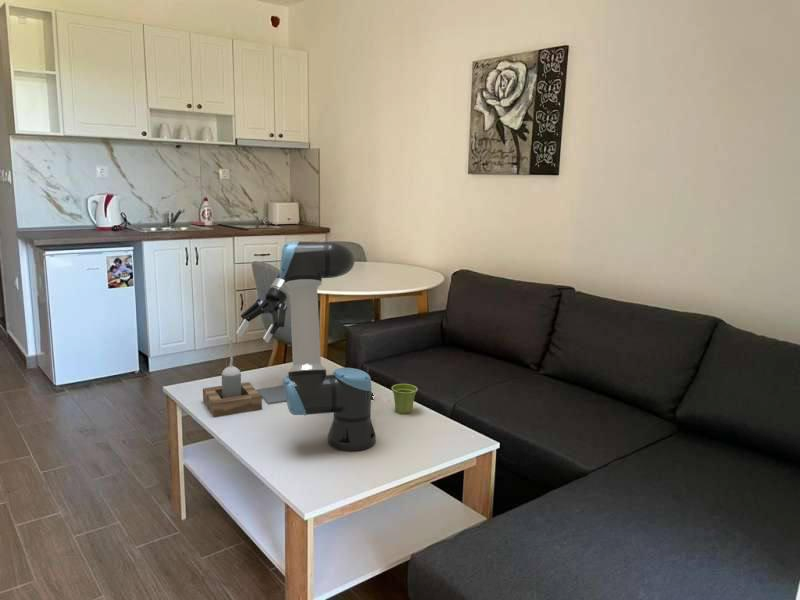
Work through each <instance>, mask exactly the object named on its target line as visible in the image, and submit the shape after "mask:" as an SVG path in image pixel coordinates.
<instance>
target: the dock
mask: <svg viewBox="0 0 800 600" xmlns="http://www.w3.org/2000/svg"><path fill="white" fill-rule="evenodd" d="M256 389H257V388H255V387H254V386H253V385H252V384H251V382H249V381H246V382H241V395H242V396H236V397H229V398H222V399H221V397H222V385H217V386H208V387H202V401H204V402H203V403H204V405H205V404H206V405H205V407H206V408H207V407H208V408H207V409H208V411H209V410H210V411H209V412H210V414H211V415H213V416H212V417H213V418H217V417H223V416H230V415H235V414H240V413H248V412H253V411H259V410H263V401H262V399H263V398H262V396H261V395H260V394H259V393H258V391H257V390H256Z"/></svg>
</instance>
